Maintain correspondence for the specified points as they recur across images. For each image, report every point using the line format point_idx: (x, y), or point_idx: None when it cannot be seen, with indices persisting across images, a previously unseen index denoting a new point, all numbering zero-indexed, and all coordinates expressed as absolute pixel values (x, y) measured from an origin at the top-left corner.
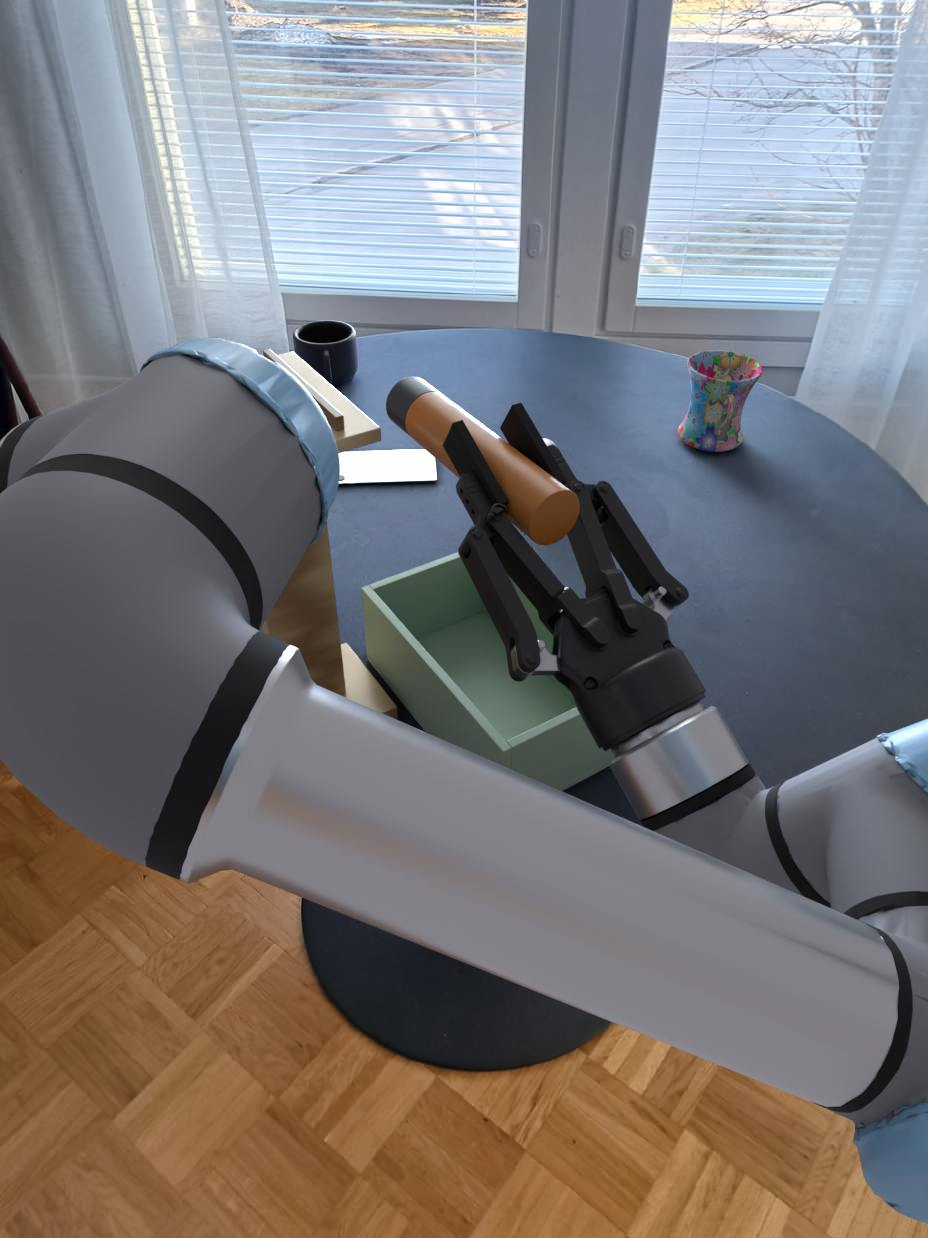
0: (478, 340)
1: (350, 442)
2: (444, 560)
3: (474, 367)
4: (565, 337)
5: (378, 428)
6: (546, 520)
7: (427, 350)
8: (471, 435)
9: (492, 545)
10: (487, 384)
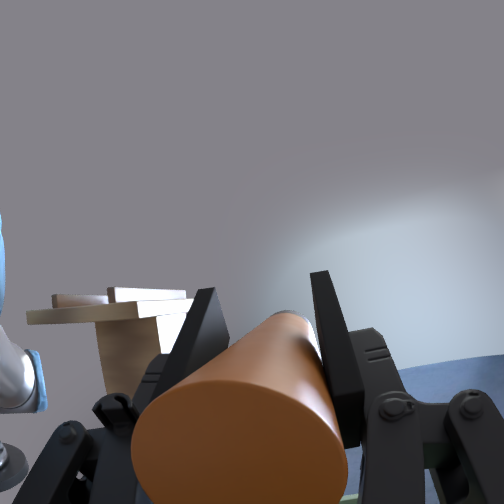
0: (457, 363)
1: (104, 311)
2: (345, 498)
3: (452, 375)
4: (500, 355)
5: (134, 301)
6: (189, 474)
7: (430, 371)
8: (209, 303)
9: (69, 466)
10: (457, 382)
